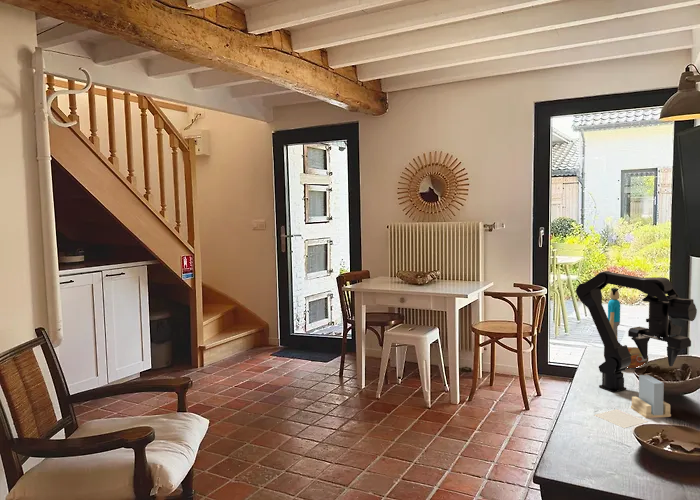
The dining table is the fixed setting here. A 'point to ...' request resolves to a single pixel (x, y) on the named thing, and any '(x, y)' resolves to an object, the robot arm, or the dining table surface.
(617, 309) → the figurine
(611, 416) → the mat
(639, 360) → the tin
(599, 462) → the dining table surface
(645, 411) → the rack
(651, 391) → the pale grey upright block
